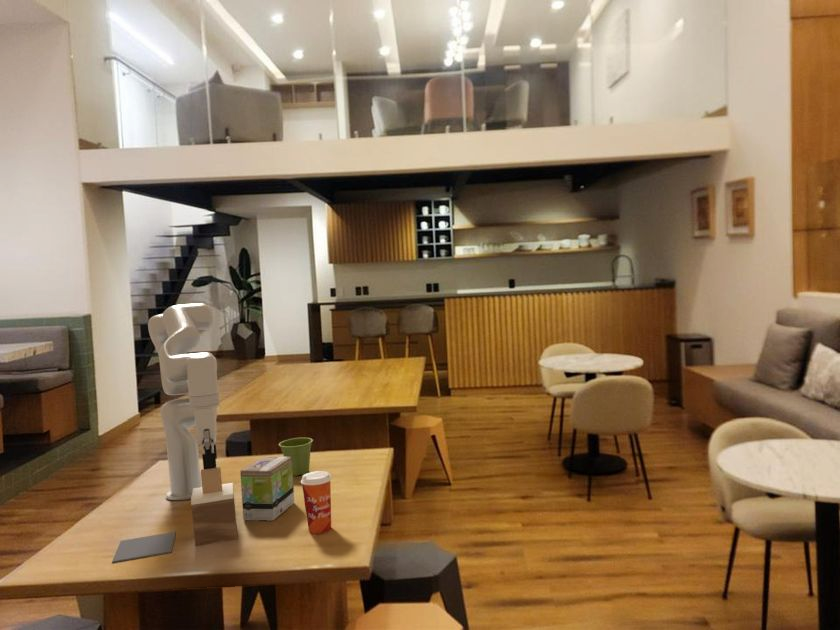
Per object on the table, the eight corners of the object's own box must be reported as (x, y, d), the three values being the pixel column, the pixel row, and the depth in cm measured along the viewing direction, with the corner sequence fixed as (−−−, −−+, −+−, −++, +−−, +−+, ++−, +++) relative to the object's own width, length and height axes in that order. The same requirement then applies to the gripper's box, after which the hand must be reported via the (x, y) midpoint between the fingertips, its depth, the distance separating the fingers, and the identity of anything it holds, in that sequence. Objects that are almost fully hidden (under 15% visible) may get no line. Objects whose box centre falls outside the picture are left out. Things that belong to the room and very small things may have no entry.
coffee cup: (310, 538, 171) (305, 481, 170) (300, 528, 178) (296, 474, 177) (340, 530, 174) (335, 475, 174) (329, 521, 182) (325, 468, 181)
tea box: (275, 521, 185) (270, 470, 184) (242, 521, 187) (238, 470, 186) (295, 502, 199) (291, 455, 198) (265, 502, 201) (261, 455, 200)
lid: (193, 496, 180) (191, 467, 180) (233, 490, 183) (230, 461, 183) (191, 508, 170) (188, 477, 170) (233, 502, 173) (231, 471, 172)
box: (196, 531, 181) (193, 492, 180) (236, 524, 184) (233, 486, 183) (195, 546, 171) (191, 504, 170) (237, 538, 174) (233, 498, 173)
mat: (120, 542, 177) (120, 540, 177) (175, 533, 181) (175, 531, 181) (112, 563, 163) (112, 561, 163) (171, 552, 167) (171, 551, 167)
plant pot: (288, 468, 236) (285, 438, 236) (319, 467, 235) (317, 437, 234) (276, 479, 225) (273, 446, 224) (309, 478, 223) (306, 445, 222)
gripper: (191, 398, 182) (197, 458, 183) (187, 408, 165) (194, 474, 166) (219, 395, 184) (225, 454, 185) (218, 404, 168) (224, 469, 168)
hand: (210, 464), depth 176 cm, fingers open, 9 cm apart
